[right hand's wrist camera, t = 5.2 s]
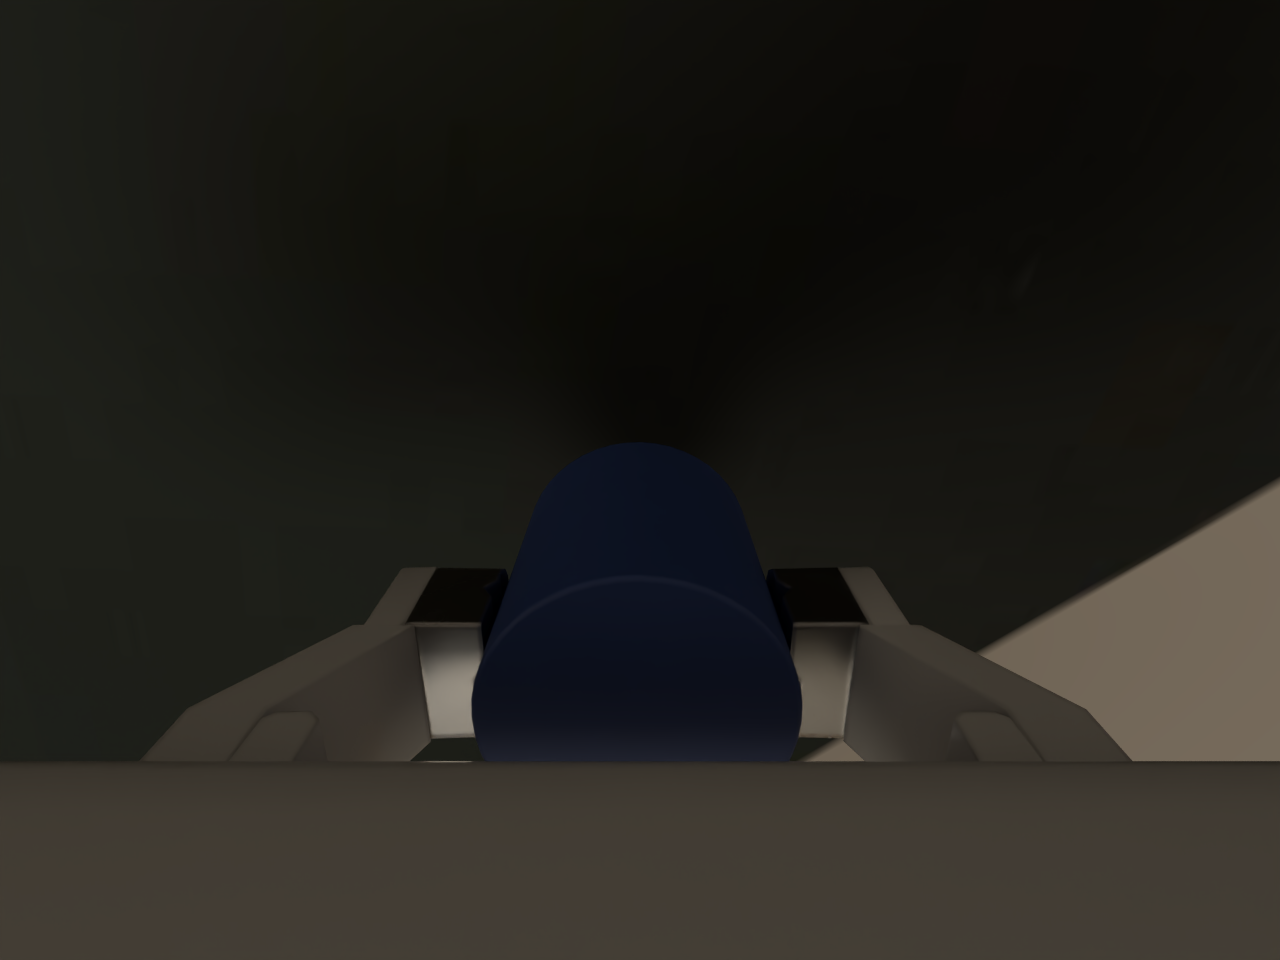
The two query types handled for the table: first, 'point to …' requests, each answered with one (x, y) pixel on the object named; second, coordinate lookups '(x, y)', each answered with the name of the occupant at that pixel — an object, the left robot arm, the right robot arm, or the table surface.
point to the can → (637, 624)
